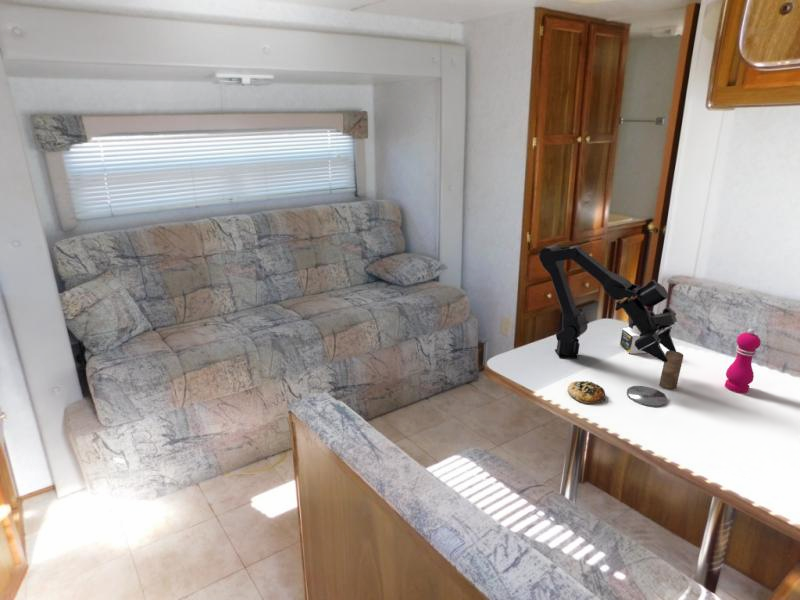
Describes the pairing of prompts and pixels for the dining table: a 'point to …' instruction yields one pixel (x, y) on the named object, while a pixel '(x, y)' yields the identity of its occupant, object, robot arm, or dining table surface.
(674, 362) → the walnut post
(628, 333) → the medicine bottle
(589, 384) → the bread roll
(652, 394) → the pad
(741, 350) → the pepper mill
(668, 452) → the dining table surface
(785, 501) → the dining table surface
